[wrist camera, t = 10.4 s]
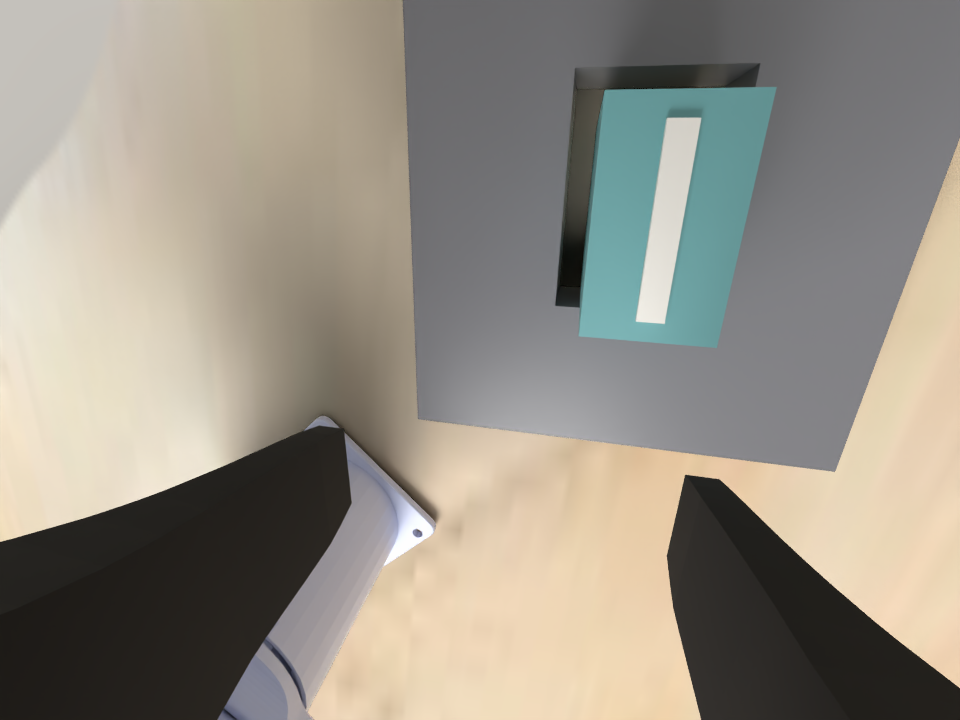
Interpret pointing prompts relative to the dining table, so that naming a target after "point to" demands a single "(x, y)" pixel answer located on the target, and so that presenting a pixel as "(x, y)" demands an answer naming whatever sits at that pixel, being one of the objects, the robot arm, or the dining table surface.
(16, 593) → the robot arm
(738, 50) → the keyed socket
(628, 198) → the keyed peg
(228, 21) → the dining table surface
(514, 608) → the dining table surface
